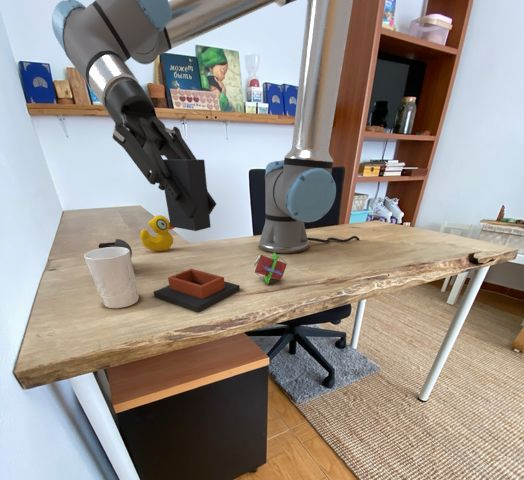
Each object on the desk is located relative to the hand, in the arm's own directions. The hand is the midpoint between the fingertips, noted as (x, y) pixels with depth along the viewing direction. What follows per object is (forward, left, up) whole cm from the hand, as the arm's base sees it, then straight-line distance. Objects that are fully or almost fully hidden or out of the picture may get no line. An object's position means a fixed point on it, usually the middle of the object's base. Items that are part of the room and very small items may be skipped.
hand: (202, 210), depth 53 cm
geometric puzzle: (-14, -6, -17) cm, 23 cm away
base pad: (+3, -2, -17) cm, 17 cm away
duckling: (+14, -38, -17) cm, 44 cm away
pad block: (+3, -3, -3) cm, 5 cm away
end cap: (+23, -21, -17) cm, 35 cm away
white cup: (+19, -1, -17) cm, 25 cm away
